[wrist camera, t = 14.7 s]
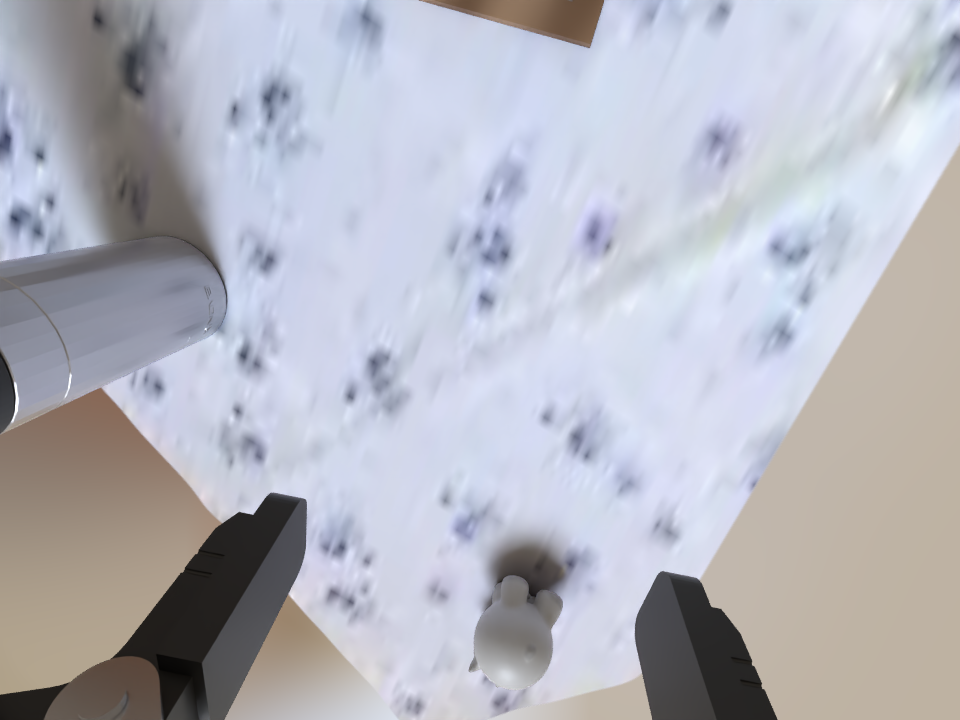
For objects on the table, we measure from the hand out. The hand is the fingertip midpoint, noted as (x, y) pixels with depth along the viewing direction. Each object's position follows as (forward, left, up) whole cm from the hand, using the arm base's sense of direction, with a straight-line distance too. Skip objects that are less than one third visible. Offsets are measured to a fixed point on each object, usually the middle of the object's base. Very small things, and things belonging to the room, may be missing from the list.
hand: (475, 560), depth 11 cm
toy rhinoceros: (+8, -32, -28) cm, 44 cm away
